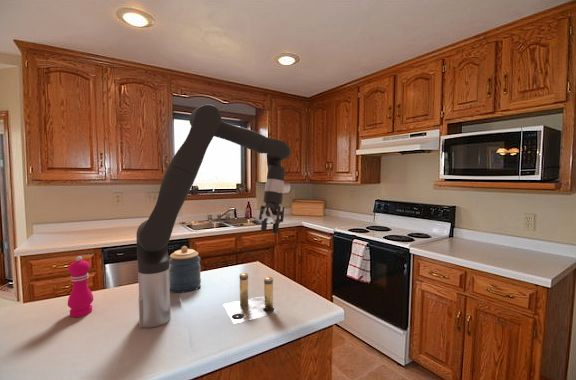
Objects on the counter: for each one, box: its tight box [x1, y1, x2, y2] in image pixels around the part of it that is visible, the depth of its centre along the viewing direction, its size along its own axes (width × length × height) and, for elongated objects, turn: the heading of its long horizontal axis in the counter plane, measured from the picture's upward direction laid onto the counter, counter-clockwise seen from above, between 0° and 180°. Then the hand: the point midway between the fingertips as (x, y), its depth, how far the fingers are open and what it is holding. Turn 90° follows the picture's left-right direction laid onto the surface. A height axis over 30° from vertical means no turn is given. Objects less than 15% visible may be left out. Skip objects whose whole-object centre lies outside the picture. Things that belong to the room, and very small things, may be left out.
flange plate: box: [222, 295, 281, 325], centre depth 99 cm, size 16×15×1 cm
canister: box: [169, 245, 202, 294], centre depth 120 cm, size 13×13×18 cm
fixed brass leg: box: [263, 276, 274, 311], centre depth 98 cm, size 3×3×11 cm
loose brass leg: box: [239, 272, 249, 306], centre depth 102 cm, size 3×3×11 cm
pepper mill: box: [67, 255, 94, 318], centre depth 97 cm, size 7×7×20 cm
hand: (269, 232), depth 111 cm, fingers open, 8 cm apart
